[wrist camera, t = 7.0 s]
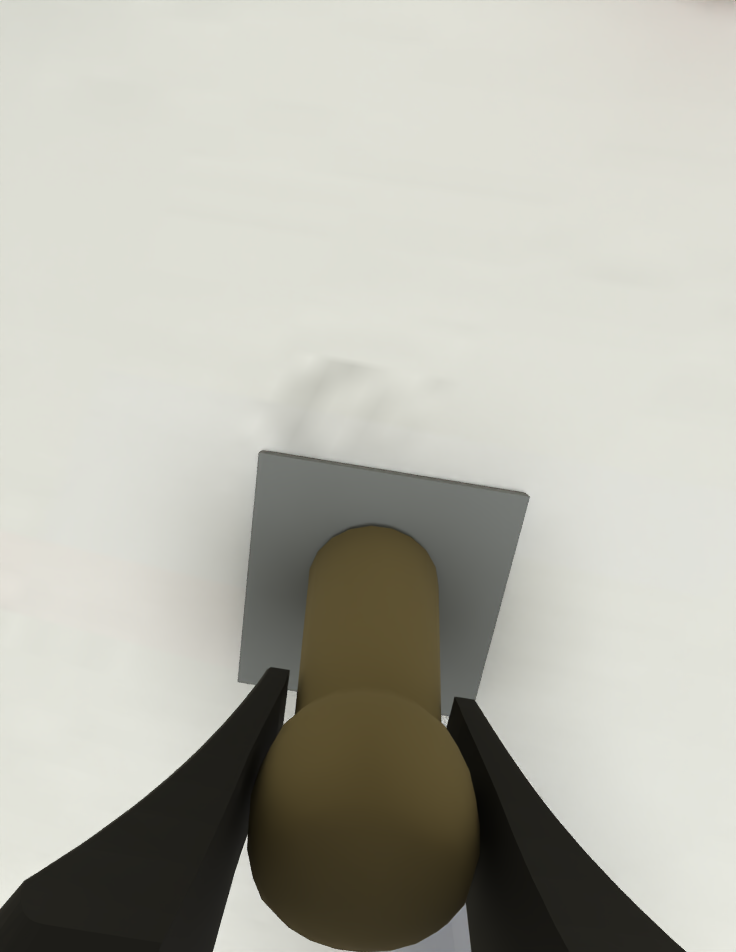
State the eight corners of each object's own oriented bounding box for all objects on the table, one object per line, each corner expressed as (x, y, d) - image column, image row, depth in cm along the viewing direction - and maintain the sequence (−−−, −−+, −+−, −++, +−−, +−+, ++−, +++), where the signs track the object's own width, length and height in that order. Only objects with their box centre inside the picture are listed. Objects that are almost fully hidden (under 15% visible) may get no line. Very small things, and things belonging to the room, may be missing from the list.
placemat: (467, 709, 20) (469, 719, 20) (241, 673, 20) (237, 681, 20) (524, 492, 17) (529, 496, 17) (263, 450, 17) (258, 452, 17)
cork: (283, 598, 18) (147, 928, 8) (354, 500, 17) (307, 742, 6) (388, 660, 19) (396, 1035, 8) (465, 572, 17) (593, 896, 7)
